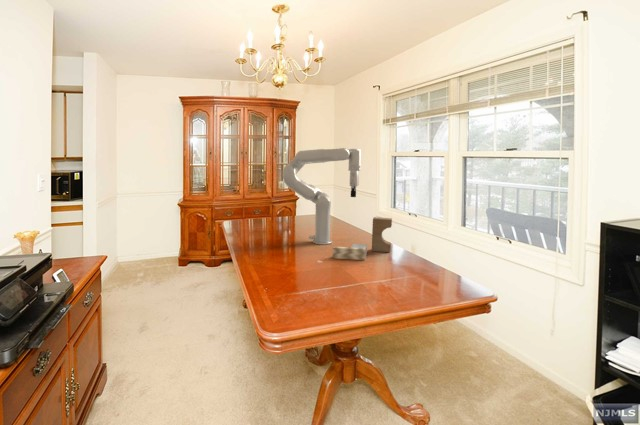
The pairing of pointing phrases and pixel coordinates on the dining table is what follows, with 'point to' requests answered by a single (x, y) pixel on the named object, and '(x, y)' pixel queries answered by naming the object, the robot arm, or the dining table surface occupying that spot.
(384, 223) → the decorative block
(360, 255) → the board
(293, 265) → the dining table surface
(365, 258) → the block
